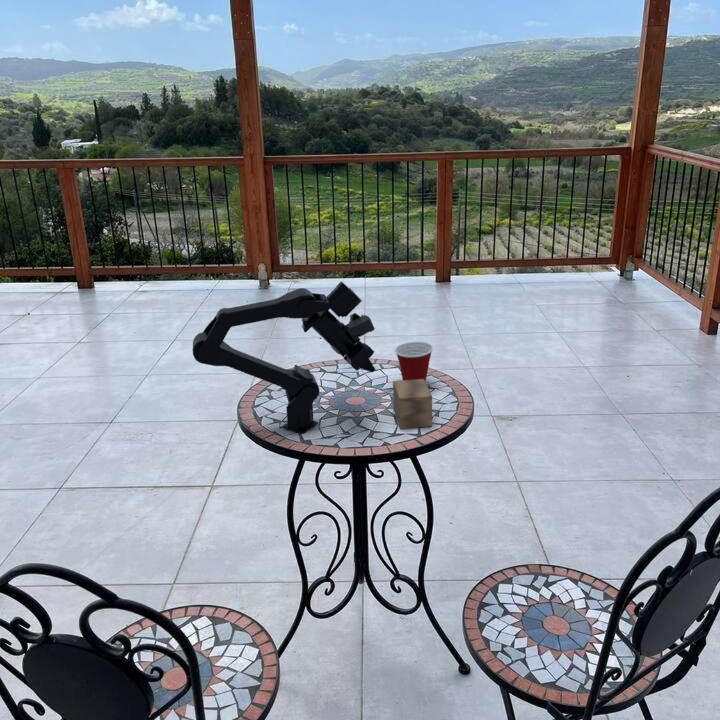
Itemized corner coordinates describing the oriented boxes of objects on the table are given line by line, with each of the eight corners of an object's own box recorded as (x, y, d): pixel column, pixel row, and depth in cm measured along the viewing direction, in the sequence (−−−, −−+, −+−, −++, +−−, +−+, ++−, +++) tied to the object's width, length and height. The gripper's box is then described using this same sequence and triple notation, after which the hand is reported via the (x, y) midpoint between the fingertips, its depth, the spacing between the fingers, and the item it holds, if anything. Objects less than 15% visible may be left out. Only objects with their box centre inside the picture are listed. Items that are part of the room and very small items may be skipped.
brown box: (399, 428, 168) (399, 398, 165) (393, 409, 178) (393, 381, 175) (431, 426, 168) (432, 396, 165) (423, 407, 179) (423, 379, 176)
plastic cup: (388, 383, 195) (387, 344, 191) (422, 377, 198) (422, 338, 194) (404, 397, 185) (404, 356, 181) (439, 390, 189) (440, 350, 185)
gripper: (366, 313, 155) (409, 356, 161) (343, 298, 172) (383, 338, 178) (333, 348, 155) (377, 390, 161) (313, 330, 172) (354, 369, 178)
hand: (373, 370), depth 170 cm, fingers closed
